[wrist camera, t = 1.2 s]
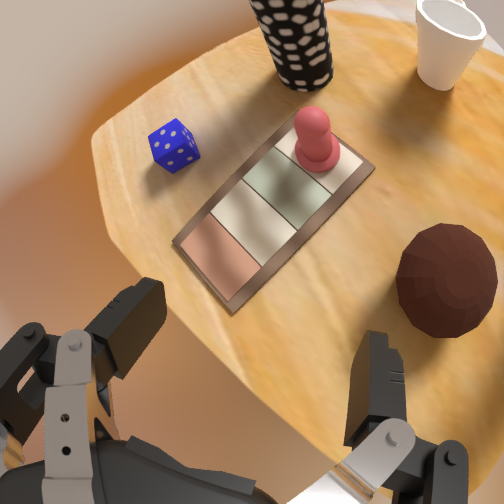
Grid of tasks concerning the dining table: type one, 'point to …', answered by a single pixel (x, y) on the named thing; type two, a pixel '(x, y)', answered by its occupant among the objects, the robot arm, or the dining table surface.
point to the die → (173, 146)
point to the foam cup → (446, 41)
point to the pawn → (315, 140)
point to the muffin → (446, 280)
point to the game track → (265, 215)
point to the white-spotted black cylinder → (297, 41)
